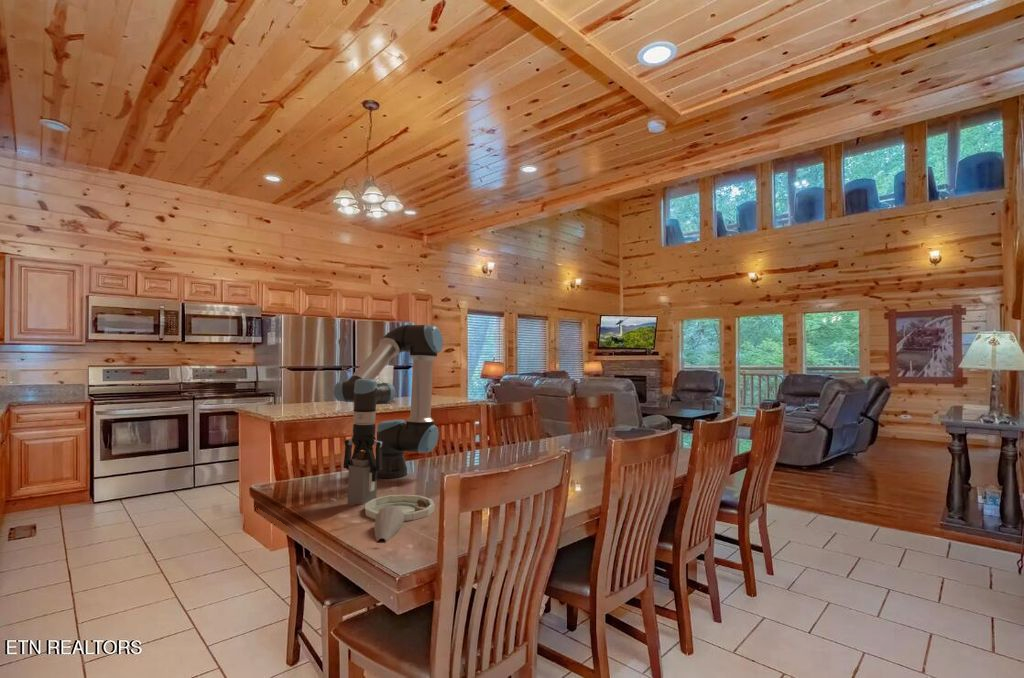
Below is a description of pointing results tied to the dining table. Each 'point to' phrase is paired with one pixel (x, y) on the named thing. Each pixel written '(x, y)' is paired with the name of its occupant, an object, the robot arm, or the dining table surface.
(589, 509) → the dining table surface
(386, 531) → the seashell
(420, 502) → the bead
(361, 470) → the perfume bottle
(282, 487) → the dining table surface
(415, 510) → the bead
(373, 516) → the tray
